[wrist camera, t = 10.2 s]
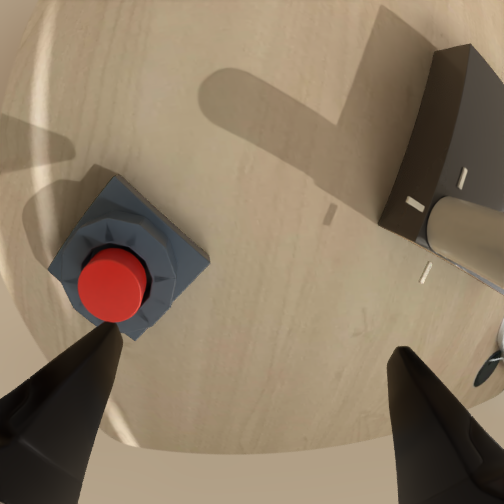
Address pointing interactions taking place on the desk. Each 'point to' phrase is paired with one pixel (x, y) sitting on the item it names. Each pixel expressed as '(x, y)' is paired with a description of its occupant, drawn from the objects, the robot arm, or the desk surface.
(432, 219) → the stove knob
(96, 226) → the button box
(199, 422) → the desk surface
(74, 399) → the robot arm
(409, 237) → the hob panel
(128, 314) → the button
